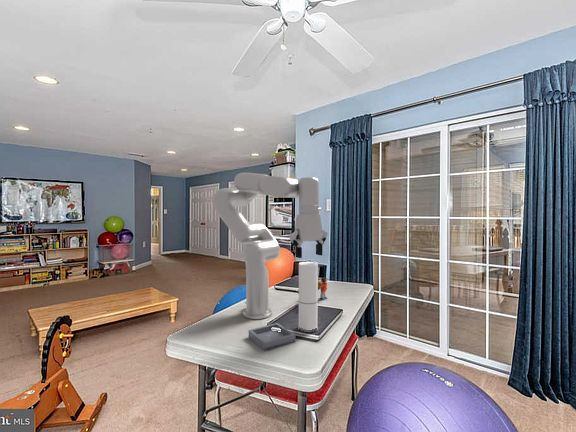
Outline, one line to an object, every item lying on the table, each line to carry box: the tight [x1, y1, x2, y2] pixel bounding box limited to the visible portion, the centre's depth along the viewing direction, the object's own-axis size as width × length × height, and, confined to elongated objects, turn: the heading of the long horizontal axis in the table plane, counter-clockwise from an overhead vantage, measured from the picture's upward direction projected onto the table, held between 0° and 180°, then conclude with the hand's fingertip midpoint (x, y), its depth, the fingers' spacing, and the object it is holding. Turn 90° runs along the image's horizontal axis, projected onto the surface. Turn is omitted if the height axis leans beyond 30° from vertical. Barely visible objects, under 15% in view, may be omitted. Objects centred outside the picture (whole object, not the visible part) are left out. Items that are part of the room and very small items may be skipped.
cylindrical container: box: [298, 261, 319, 330], centre depth 112 cm, size 7×7×25 cm
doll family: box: [318, 276, 328, 301], centre depth 144 cm, size 21×10×13 cm, turn 151°
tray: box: [248, 322, 296, 352], centre depth 104 cm, size 12×12×2 cm
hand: (309, 256), depth 112 cm, fingers open, 9 cm apart
